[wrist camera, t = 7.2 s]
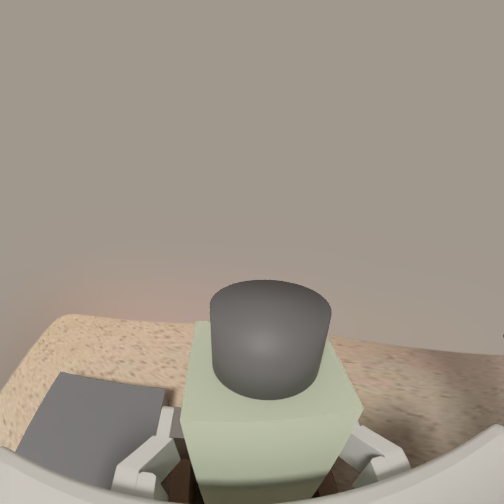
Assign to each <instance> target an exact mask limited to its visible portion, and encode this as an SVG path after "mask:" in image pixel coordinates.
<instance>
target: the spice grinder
mask: <svg viewBox="0 0 504 504" xmlns="http://www.w3.org/2000/svg"><path fill="white" fill-rule="evenodd" d="M330 319H331V308H330V305H329V303H328V302H327V301H326V299H324V298H323V297H322V296H321V295H320V294H318V293H317V292H315V291H313V290H311V289H309V288H306V287H304V286H301V285H297V284H293V283H289V282H283V281H276V280H252V281H244V282H239V283H235V284H232V285H229V286H227V287H225V288H223V289H221V290H220V291H218V292H217V293H216V294H215V295H214V296H213V297H212V299H211V302H210V321H196V324H195V329H194V335H193V340H192V346H191V352H190V358H189V364H188V370H187V376H186V382H185V389H184V395H183V402H182V409H181V416H180V423H181V427H182V431H183V435H184V438H185V442H186V446H187V450H188V453H189V457H190V460H191V463H192V467H193V470H194V473H195V477H196V480H197V483H198V486H199V489H200V492H201V495H202V498H203V500H204V503H205V504H274V503H284V502H292V501H299V500H305V499H311V497H312V496H313V495H314V493H315V492H316V490H317V489H318V487H319V486H320V485H321V483H322V482H323V480H324V479H325V477H326V475H327V474H328V472H329V471H330V469H331V468H332V466H333V464H334V463H335V461H336V459H337V458H338V456H339V454H340V453H341V451H342V449H343V447H344V446H345V444H346V442H347V440H348V438H349V437H350V435H351V433H352V431H353V429H354V427H355V425H356V423H357V421H358V419H359V417H360V415H361V413H362V411H363V409H364V407H363V405H362V403H361V401H360V399H359V397H358V395H357V393H356V391H355V390H354V388H353V386H352V384H351V382H350V380H349V378H348V376H347V374H346V372H345V370H344V368H343V366H342V364H341V362H340V360H339V358H338V356H337V354H336V353H335V351H334V349H333V347H332V345H331V343H330V341H329V339H328V337H327V333H328V328H329V324H330Z"/></svg>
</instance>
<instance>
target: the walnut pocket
mask: <svg viewBox="0 0 504 504" xmlns="http://www.w3.org/2000/svg"><path fill="white" fill-rule="evenodd" d="M196 484H197V480H196V477H195V473H194V470H193V467H192V463H191V460H187V459H180V462H179V463H178V464H177V465H176V466H175V467H174V469H173V470H172V472H171V481H170V491H169V501H168V502H175V503H184V504H196ZM336 493H338V490H337V487H336V484H335V480H334V477H333V474H332V471H331V469H330V471H329V472H328V474H327V475H326V477H325V479H324V480H323V482H322V483H321V485H320V486H319V487H318V489H317V490H316V492H315V493H314V495H313V496H312V497H311V498H317V497H322V496H327V495H331V494H336Z"/></svg>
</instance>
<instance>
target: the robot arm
mask: <svg viewBox="0 0 504 504" xmlns="http://www.w3.org/2000/svg"><path fill="white" fill-rule="evenodd" d="M181 409H182V408H179V407H169V406H163V407H162V409H161V414H160V419H159V424H158V428H157V433H156V436H152V437H150V438H149V439H148V440H147V441H146V442H145V443H144V444H142V445H141V446H140V447H139V448H138V449H136V450H135V451H134V452H133V453H132V454H130V455H129V456H128V457H127V458H126V459H124V460H123V461H122V462H121V463H119V464H118V465H117V467H116V471H115V475H114V479H113V483H112V487H111V490H108V489H104V488H101V487H97V486H94V485H91V484H88V483H85V482H82V481H79V480H76V479H73V478H71V477H68V476H65V475H63V474H60V473H58V472H55V471H53V470H51V469H48V468H46V467H44V466H42V465H39V464H37V463H35V462H33V461H31V460H29V459H27V458H25V457H23V456H21V455H19V454H18V453H16V452H14V451H12V450H11V449H9V448H7V447H4V446H1V447H0V504H184V503H175V502H168V497H169V496H168V495H167V493H166V492H165V490H164V488H163V487H162V485H161V484H160V483H161V482H162V481H163V480H164V479H165V478H166V477H167V475H168V474H169V473H170V472H171V471H172V470H173V469H174V467H175V466H176V465H177V464H178V463H179V462H180V459H187V460H190V457H189V453H188V450H187V446H186V442H185V438H184V435H183V431H182V427H181V423H180V416H181ZM339 457H341V458H342V459H343V460H344V461H345V462H346V463H348V464H349V465H350V466H351V467H352V468H354V469H355V470H356V471H357V472H358V473H360V475H359V476H358V477H357V479H356V480H355V481H354V482H353V484H352V485H353V488H354V489H352V490H348V491H344V492H340V493H336V494H331V495H327V496H322V497H317V498H311V499H305V500H299V501H292V502H284V503H274V504H504V426H503V425H499V424H493V425H491V426H489V427H488V428H486V429H485V430H483V431H482V432H480V433H479V434H477V435H476V436H474V437H472V438H471V439H469V440H468V441H466V442H464V443H462V444H461V445H459V446H457V447H455V448H454V449H452V450H450V451H448V452H446V453H444V454H442V455H441V456H439V457H437V458H435V459H432V460H430V461H428V462H426V463H424V464H422V465H420V466H417V467H415V468H413V469H412V467H411V465H410V463H409V461H408V459H407V457H406V455H405V453H404V452H403V450H402V448H401V447H399V446H397V445H395V444H394V443H392V442H390V441H388V440H387V439H385V438H383V437H382V436H380V435H378V434H377V433H375V432H373V431H372V430H370V429H369V428H367V427H365V426H364V425H362V426H360V424H359V422H358V421H357V423H356V425H355V427H354V429H353V431H352V433H351V435H350V437H349V438H348V440H347V442H346V444H345V446H344V447H343V449H342V451H341V453H340V454H339Z"/></svg>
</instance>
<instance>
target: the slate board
mask: <svg viewBox="0 0 504 504" xmlns="http://www.w3.org/2000/svg"><path fill="white" fill-rule="evenodd" d="M167 405H168V397H167V393H166V389H164V388H154V387H144V386H136V385H129V384H122V383H115V382H109V381H103V380H98V379H92V378H87V377H82V376H78V375H73V374H69V373H65V372H60V373H59V375H58V377H57V378H56V380H55V381H54V383H53V385H52V386H51V388H50V389H49V391H48V393H47V394H46V396H45V398H44V399H43V401H42V403H41V405H40V406H39V408H38V410H37V412H36V413H35V415H34V417H33V419H32V421H31V422H30V424H29V426H28V428H27V430H26V432H25V434H24V436H23V438H22V440H21V442H20V444H19V446H18V448H17V450H16V453H18V454H19V455H21V456H23V457H25V458H27V459H29V460H31V461H33V462H35V463H37V464H39V465H42V466H44V467H46V468H48V469H51V470H53V471H55V472H58V473H60V474H63V475H65V476H68V477H71V478H73V479H76V480H79V481H82V482H85V483H88V484H91V485H94V486H97V487H101V488H104V489H108V490H111V487H112V483H113V479H114V475H115V471H116V467H117V465H118V464H119V463H121V462H122V461H123V460H124V459H126V458H127V457H128V456H129V455H130V454H132V453H133V452H134V451H135V450H136V449H138V448H139V447H140V446H141V445H142V444H144V443H145V442H146V441H147V440H148V439H149V438H150V437H152V436H156V433H157V428H158V424H159V419H160V414H161V409H162V407H163V406H167Z"/></svg>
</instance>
